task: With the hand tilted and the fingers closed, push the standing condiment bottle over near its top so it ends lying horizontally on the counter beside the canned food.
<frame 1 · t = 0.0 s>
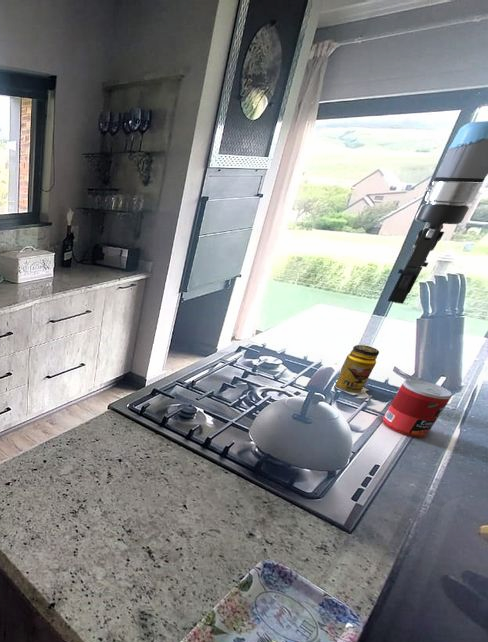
hand: (398, 297, 99), 26 cm above the counter, tool pointing down, fingers open, 13 cm apart
canned food: (402, 428, 95), on the counter
condiment: (343, 386, 113), on the counter
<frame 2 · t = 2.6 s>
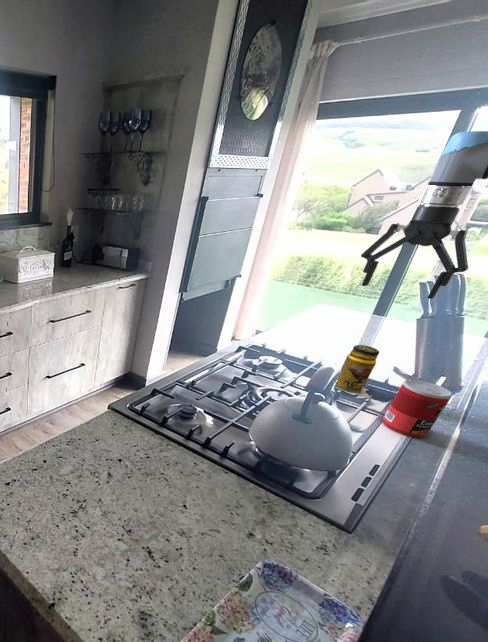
hand: (396, 291, 108), 25 cm above the counter, tool pointing down, fingers open, 13 cm apart
nothing on the counter moved.
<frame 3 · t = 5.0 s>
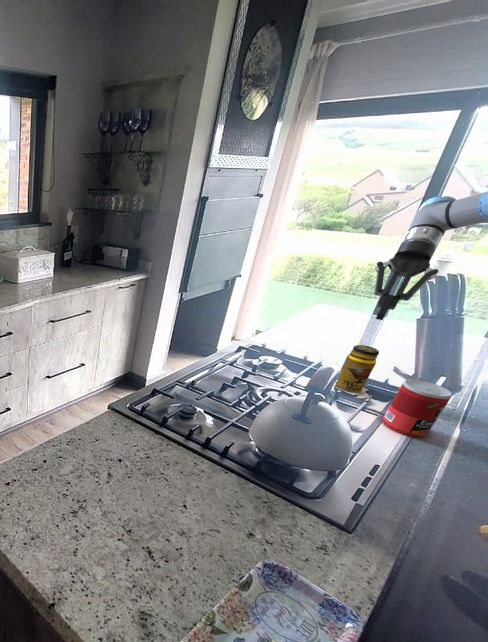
hand: (380, 317, 111), 18 cm above the counter, tool tilted 45°, fingers closed
nothing on the counter moved.
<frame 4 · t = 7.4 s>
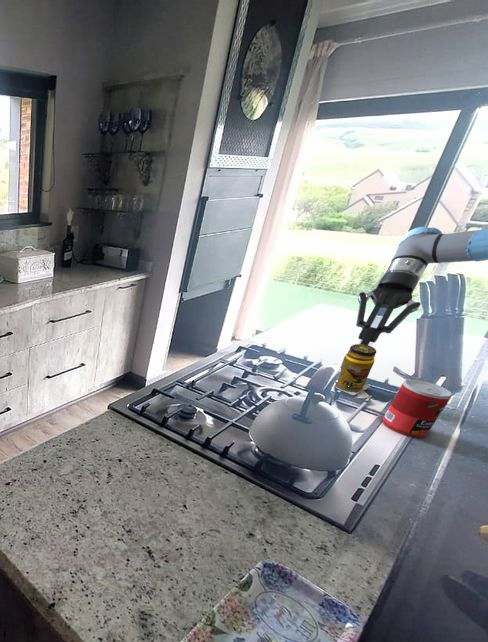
hand: (361, 349, 109), 11 cm above the counter, tool tilted 45°, fingers closed
condiment: (344, 385, 112), on the counter, touching gripper
everything else where it was.
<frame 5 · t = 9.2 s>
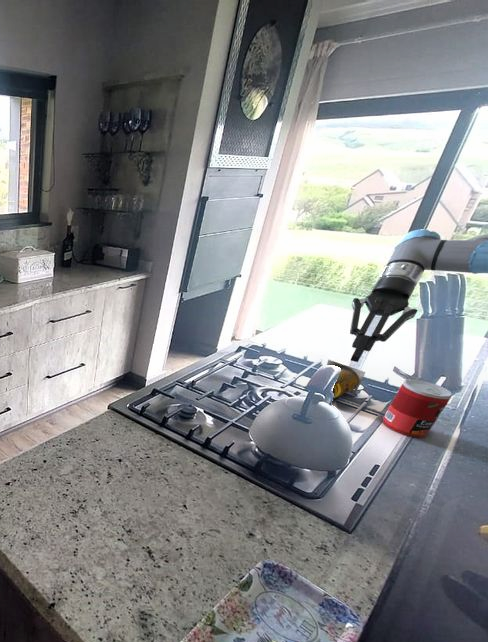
hand: (355, 358, 103), 11 cm above the counter, tool tilted 45°, fingers closed
condiment: (342, 377, 109), point 4 cm above the counter
everything else where it was.
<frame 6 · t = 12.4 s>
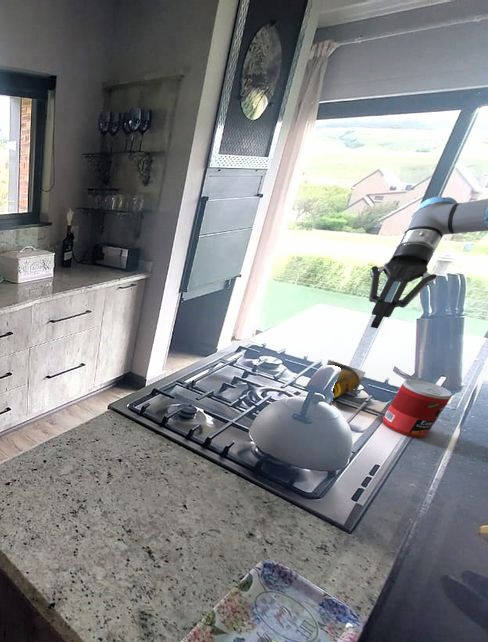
hand: (375, 325, 105), 18 cm above the counter, tool tilted 45°, fingers closed
nothing on the counter moved.
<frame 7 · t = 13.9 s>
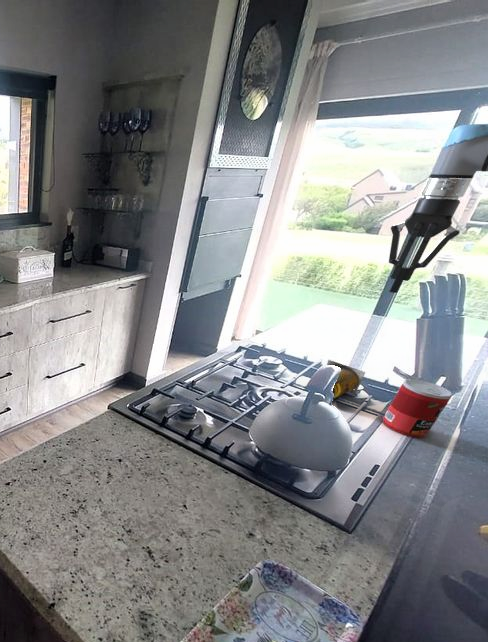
hand: (393, 291, 110), 24 cm above the counter, tool pointing down, fingers closed
nothing on the counter moved.
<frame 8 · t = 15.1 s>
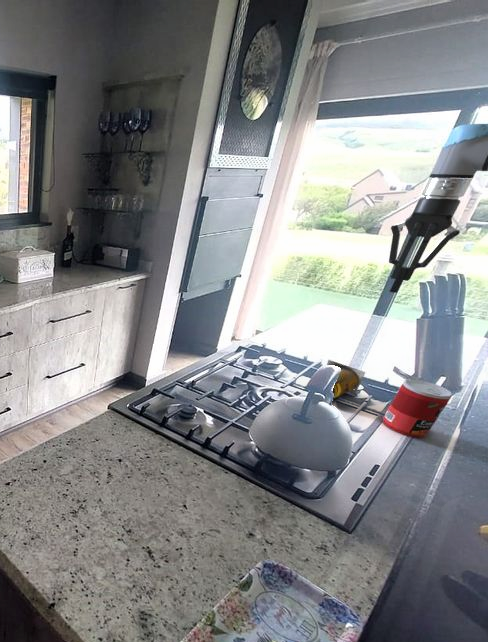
hand: (393, 291, 110), 24 cm above the counter, tool pointing down, fingers closed
nothing on the counter moved.
at the end: condiment tilted 93°; condiment inside the target area (5.9 cm from its centre), point 3.7 cm above the counter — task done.
